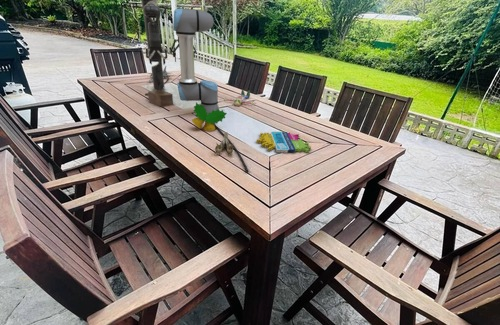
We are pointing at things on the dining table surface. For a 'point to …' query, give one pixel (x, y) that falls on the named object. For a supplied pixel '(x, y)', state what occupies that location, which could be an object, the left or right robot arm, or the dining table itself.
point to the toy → (241, 99)
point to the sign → (283, 142)
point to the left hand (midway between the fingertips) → (157, 64)
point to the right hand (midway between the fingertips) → (184, 61)
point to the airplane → (163, 75)
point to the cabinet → (160, 98)
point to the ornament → (207, 117)
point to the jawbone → (224, 145)
